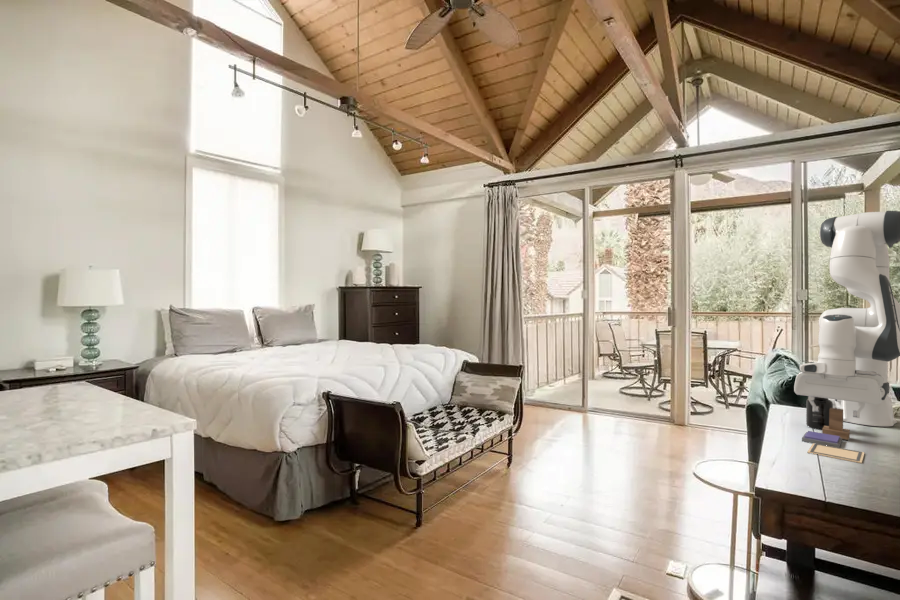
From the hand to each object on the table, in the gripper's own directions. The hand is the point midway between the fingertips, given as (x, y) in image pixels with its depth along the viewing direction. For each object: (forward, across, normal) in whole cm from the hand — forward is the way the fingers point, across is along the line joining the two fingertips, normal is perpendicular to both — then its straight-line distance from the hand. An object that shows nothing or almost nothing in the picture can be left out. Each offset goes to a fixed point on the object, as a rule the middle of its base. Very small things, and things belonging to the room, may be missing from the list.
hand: (835, 414), depth 140 cm
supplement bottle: (+7, +5, -11) cm, 14 cm away
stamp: (+7, 0, -1) cm, 7 cm away
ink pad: (+7, +2, +7) cm, 11 cm away
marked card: (+8, -2, +18) cm, 20 cm away
